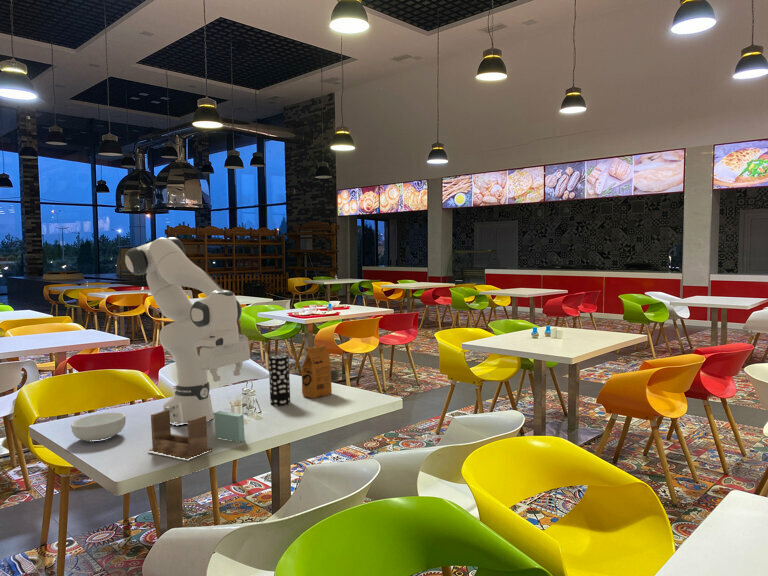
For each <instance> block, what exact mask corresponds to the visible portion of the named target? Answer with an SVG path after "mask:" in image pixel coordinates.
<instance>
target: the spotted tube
mask: <svg viewBox="0 0 768 576" xmlns="http://www.w3.org/2000/svg"><path fill="white" fill-rule="evenodd" d="M289 358H290V357H289V355H287V354H286V355H285V354H278V355H271V356H269V357H268V373H269V375H268V376H269V396H270V397H269V398H270V406H273V407H282V406H283V407H284V406H288V405H290V404H291V386H290V385H291V384H290V383H291V382H290V361H289V360H290V359H289Z"/></svg>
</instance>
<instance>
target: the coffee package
mask: <svg viewBox="0 0 768 576" xmlns="http://www.w3.org/2000/svg"><path fill="white" fill-rule="evenodd" d="M305 351H306V356H305V360H304V361H303V364H302V367H301V394H302V396H303V397H306V398H309V399H317V398H319V397H325V396H328V395H330V394H332V391H333V390H332V367H331V360H330V359H331V358H330V356H329V353H328V350H327V348H326V345H325V344H321V345H320V346H318V347H306V348H305Z"/></svg>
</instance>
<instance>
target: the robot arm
mask: <svg viewBox="0 0 768 576" xmlns="http://www.w3.org/2000/svg"><path fill="white" fill-rule="evenodd" d="M124 261H125V265H126V268H127V269H128V270H129V272H130V273H131V274H133V275H135V276H142V275H145V274H146V282H147V286H148V289H149V292H150V294H151V296H152V298H153V299H154V301H155V303H156V306H157V307H158V309H159V310H160V312H161V314H162V316H163V317H165V318H167V319H170V320H171V321H173V322H170V323H169V324H166V325H164V326H163V327H162V328H161V329H160V331H159V335H158V336H159V338H158V339H159V343H160V345H161V347H163V349H164V350H166V351H167V352H169V354H170V355H171V357H172V358H173V360H174V362H175V366H176V376H177V377H176V378H177V384H176V385H173V386H172V390H175V391H174V394H173V396H171V397H170V398H169V399H168V400H167V401H166V402H165V403H164V404H163V407H162V408H163V409H162V411H165V410H170V422H171V423H174V422H177V423H175V424H180V423H187V421H188V420H191V419H194V418H197V417H200V416H203V415H205V416H206V421H207V422H209V421H208V420H210V421H212V420H213V419H214V415H213V414H214V413H215V411H214V410H213V404H212V397H211V395H210V390H211V389H210V387H211V386H210V385H211V384H210V382H209V375H208V371H209V373H210V374H211V376H212V380H213V382H215V383H216V382H219V381H221V375H218V373H217V372H218V370H219V369H218V368H223V367H226V366H230V365H235V367H234V368H235V369H234V370H233V376H235V377H238V376H240V375H241V370H242V367H243V365H244V364H243V362H245V361H249V360H250V358H251V350H250V346H249V345H250V344H249V341H248V336H246V335H245V334H240V335H239V325H238V321H239V320H240V318H241V315H242V312H243V309H242V305H241V303H240V302H239V300H237V298H236V295H235V292H234V291H233V292H232V291H230V290H228V289H224V288H223V287H222V286H221V285H220V283H218V282H217V281H216V280H215V278H213V277H212V276H211V275H210V274H209V273H208V272H207V271H205V270H204V269H202V268H201V267H199V266H198V265H196V264H195V263H194V262H193V261H191V259H189V258H188V257H187V256H186V250H185V246H184V244H183V242H182V241H181V240H180V239H179V238H177V237H173V236H171V237H159V238H156V239H155V240H153V241H150V242H148V243H145V244H142V245H140V246H137V247H132V248H130V249H128V250H127V251H126V253H125V255H124ZM183 287H184V288H185V287H186V288H191V289H195V290H198V291H200V292H202V293H203V294H204V295H205V296H206V297H205V298H202V299H200V300H196V301H194V303H192V301H190V299H189V298H188V295H187V294H186V293H185V291H184V289H183ZM198 347H199V348H200V350H199V354H198V350H197V349H198ZM211 419H212V420H211Z"/></svg>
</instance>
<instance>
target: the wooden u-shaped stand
mask: <svg viewBox="0 0 768 576" xmlns="http://www.w3.org/2000/svg"><path fill="white" fill-rule="evenodd" d="M150 423H151V424H150V426H151V444H152V448H150V449H148V450H149V451H154V452H158V453H163V454H166V455H171V456H175V457H180V458H185V459H189V458H191V457H194V456H197V455H200V454H202V453H204V452H207V451H210V450H212V451H213V447H209V446H208V430H207V429H208V428H207V422H206V416H205V415H203V416H200V417H197V418H194V419H191V420H188V421H187V423H188V425H187V436H186V435H179V434H173V433H172V431H171V425H170V410H165V411H163V410H161V411H158V412H156V413H152V414H150Z"/></svg>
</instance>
